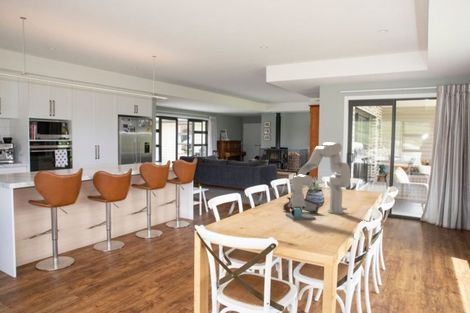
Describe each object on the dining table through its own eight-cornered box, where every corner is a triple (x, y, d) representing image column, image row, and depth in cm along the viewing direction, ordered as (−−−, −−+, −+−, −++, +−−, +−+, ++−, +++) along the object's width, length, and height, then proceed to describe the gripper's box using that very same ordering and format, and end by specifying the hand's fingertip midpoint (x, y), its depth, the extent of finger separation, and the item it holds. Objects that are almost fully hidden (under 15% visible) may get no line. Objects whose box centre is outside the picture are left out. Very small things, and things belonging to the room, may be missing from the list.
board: (306, 214, 265) (306, 207, 265) (315, 219, 250) (315, 212, 249) (285, 215, 261) (285, 208, 261) (293, 220, 246) (293, 213, 245)
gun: (314, 221, 270) (320, 204, 268) (282, 209, 274) (288, 192, 273) (314, 219, 274) (320, 202, 273) (282, 208, 279) (288, 191, 277)
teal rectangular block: (301, 216, 253) (301, 209, 252) (294, 216, 251) (295, 210, 251) (298, 214, 258) (298, 208, 258) (292, 214, 257) (292, 208, 256)
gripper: (288, 192, 248) (288, 216, 249) (309, 192, 252) (309, 215, 253) (285, 191, 255) (284, 214, 256) (305, 190, 259) (304, 213, 260)
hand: (296, 214), depth 255 cm, fingers closed on teal rectangular block, 5 cm apart
